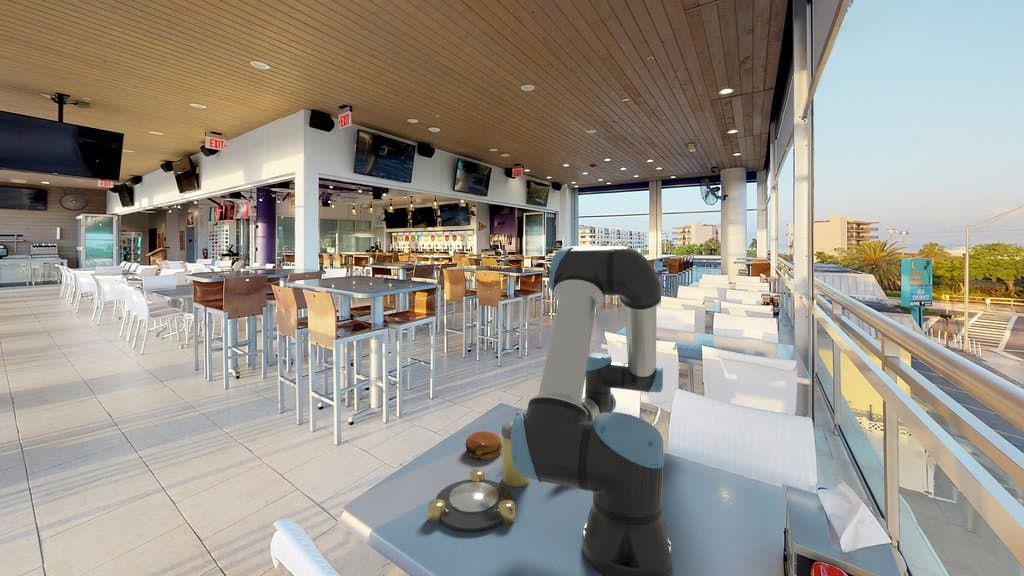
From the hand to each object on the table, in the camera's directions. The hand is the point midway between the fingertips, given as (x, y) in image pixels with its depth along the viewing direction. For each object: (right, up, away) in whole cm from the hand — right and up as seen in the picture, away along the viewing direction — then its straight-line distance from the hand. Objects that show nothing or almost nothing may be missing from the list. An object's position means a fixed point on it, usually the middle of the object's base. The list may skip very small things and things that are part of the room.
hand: (534, 440), depth 102 cm
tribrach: (-13, -8, -16) cm, 22 cm away
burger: (-13, -7, +8) cm, 17 cm away
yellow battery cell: (-5, -7, -5) cm, 10 cm away
